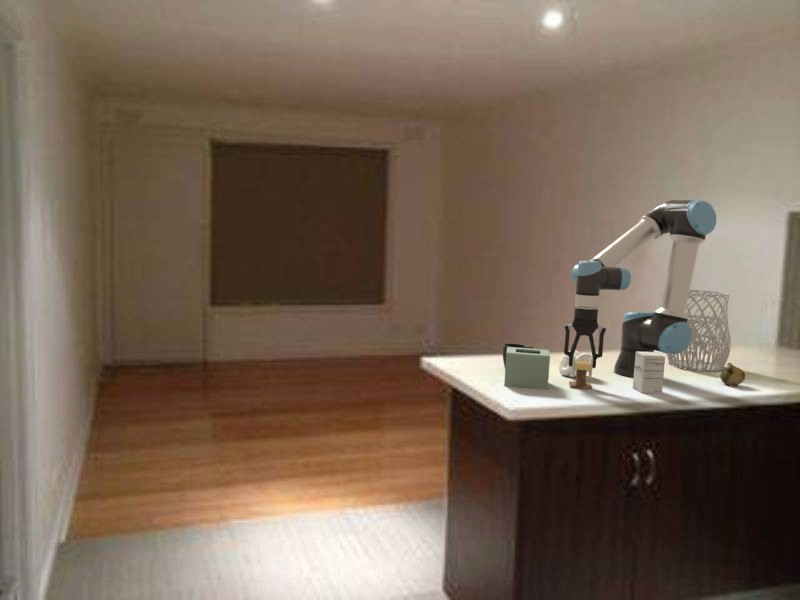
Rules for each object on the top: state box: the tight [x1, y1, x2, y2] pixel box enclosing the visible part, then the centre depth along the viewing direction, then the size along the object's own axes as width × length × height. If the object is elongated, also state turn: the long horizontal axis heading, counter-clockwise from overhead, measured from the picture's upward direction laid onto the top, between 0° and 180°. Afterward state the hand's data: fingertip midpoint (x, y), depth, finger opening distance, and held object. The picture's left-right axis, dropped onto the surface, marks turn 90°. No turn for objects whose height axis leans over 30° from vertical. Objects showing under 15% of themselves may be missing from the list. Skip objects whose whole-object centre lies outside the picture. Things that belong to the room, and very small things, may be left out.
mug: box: [502, 343, 534, 368], centre depth 271 cm, size 8×12×10 cm
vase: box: [666, 289, 732, 372], centre depth 298 cm, size 24×24×30 cm
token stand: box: [568, 370, 593, 390], centre depth 250 cm, size 7×7×6 cm
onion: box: [719, 362, 746, 386], centre depth 265 cm, size 8×8×8 cm
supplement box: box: [632, 351, 666, 395], centre depth 248 cm, size 7×7×13 cm
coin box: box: [503, 347, 551, 390], centre depth 250 cm, size 14×12×11 cm
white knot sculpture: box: [558, 349, 592, 377], centre depth 266 cm, size 11×12×9 cm
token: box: [574, 361, 591, 371], centre depth 250 cm, size 5×5×2 cm
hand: (581, 376), depth 250 cm, fingers closed on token, 5 cm apart
